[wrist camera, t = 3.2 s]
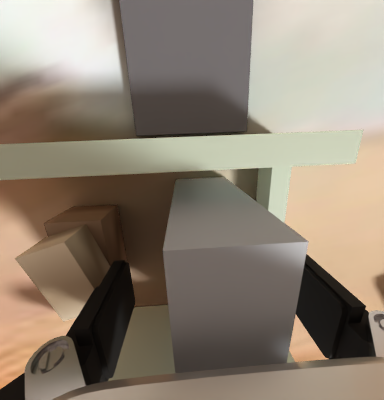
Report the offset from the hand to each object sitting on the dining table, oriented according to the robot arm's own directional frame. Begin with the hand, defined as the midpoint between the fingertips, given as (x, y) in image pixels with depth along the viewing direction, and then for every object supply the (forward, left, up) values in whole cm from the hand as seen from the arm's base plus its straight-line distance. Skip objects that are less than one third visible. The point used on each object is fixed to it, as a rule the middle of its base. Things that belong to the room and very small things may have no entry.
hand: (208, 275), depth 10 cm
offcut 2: (-1, -8, -1) cm, 8 cm away
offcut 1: (-1, -8, -4) cm, 9 cm away
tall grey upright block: (0, 0, -4) cm, 4 cm away
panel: (-15, 0, -4) cm, 15 cm away
